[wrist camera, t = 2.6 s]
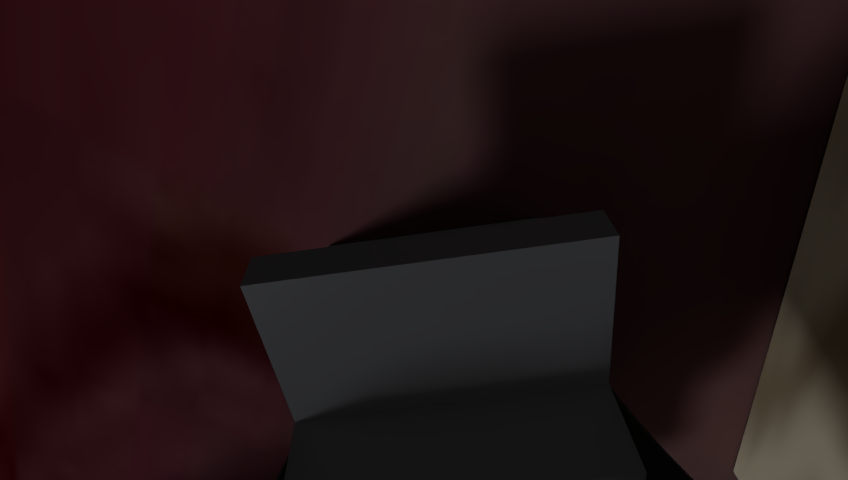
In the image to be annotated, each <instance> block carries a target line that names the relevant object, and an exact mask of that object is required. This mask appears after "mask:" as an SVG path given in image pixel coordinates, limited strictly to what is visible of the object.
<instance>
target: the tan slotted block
mask: <svg viewBox="0 0 848 480" xmlns="http://www.w3.org/2000/svg"><path fill="white" fill-rule="evenodd" d="M734 473H735V475H736V477H737V478H738V480H848V75H847V79H846V82H845V85H844V89H843V92H842V96H841V99H840V103H839V106H838V110H837V113H836V117H835V120H834V124H833V127H832V131H831V134H830V138H829V141H828V144H827V148H826V151H825V155H824V158H823V162H822V165H821V169H820V172H819V176H818V179H817V183H816V186H815V190H814V193H813V197H812V200H811V203H810V207H809V210H808V214H807V217H806V221H805V224H804V228H803V231H802V235H801V238H800V242H799V245H798V249H797V252H796V256H795V259H794V262H793V266H792V269H791V273H790V276H789V280H788V283H787V287H786V290H785V294H784V297H783V301H782V304H781V308H780V311H779V315H778V318H777V321H776V325H775V328H774V332H773V335H772V339H771V342H770V346H769V349H768V353H767V356H766V360H765V363H764V367H763V370H762V374H761V377H760V380H759V384H758V387H757V391H756V394H755V398H754V401H753V405H752V408H751V412H750V415H749V419H748V422H747V426H746V429H745V433H744V436H743V439H742V443H741V446H740V450H739V453H738V457H737V460H736V464H735V467H734Z"/></svg>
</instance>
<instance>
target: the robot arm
mask: <svg viewBox="0 0 848 480" xmlns="http://www.w3.org/2000/svg"><path fill="white" fill-rule="evenodd" d="M611 390H612V388H611ZM612 392H613V394H614V397H615V399H616V402H617V404H618V406H619V409H620V411H621V413H622V416H623V418H624V420H625V423H626V425H627V427H628V430H629V432H630V435H631V437H632V439H633V442H634V444H635V446H636V449H637V451H638V453H639V456H640V458H641V461H642V463H643V465H644V468H645V470H646V472H647V476H646V480H693V479H692V478H691V477H690V476H689V475H688V474H687V473H686V472H685V471H684V470H683V469H682V468H681V467H680V466H679V465H678V464H677V463H676V461H675V460H674V459H673V458H672V457H671V456H670V455H669V454H668V453H667V452H666V451H665V450H664V449H663V448H662V447H661V446H660V445H659V444H658V442H657V441H656V440H655V439H654V438H653V437H652V436H651V435H650V434H649V432H648V431H647V430H646V429H645V428H644V427H643V426H642V424H641V423H640V422H639V421H638V420H637V419H636V418H635V417H634V415H633V414H632V413H631V412H630V411H629V409H628V408H627V407H626V406H625V405H624V403H623V402H622V401H621V400H620V398H619V397H618V396H617V395H616V393H615V392H614V391H613V390H612ZM288 457H289V455H288ZM288 457H287V459H286V461H285V463H284V464H283V466H282V468H281V470H280V472H279V474H278V476H277V478H276V480H284V478H285V473H286V467H287V462H288Z"/></svg>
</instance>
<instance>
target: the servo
mask: <svg viewBox="0 0 848 480" xmlns="http://www.w3.org/2000/svg"><path fill="white" fill-rule="evenodd" d="M619 237H620V235H619V234H618V232H617V231H616V229H615V227H614V226H613V224H612V223H611V221H610V220H609V218H608V216H607V215H606V213H605V212H604V210H598V211H591V212H583V213H576V214H569V215H561V216H554V217H547V218H539V217H538V218H530V219H523V220H516V221H508V222H501V223H493V224H486V225H479V226H471V227H464V228H457V229H449V230H442V231H435V232H427V233H420V234H412V235H405V236H398V237H390V238H383V239H376V240H368V241H361V242H353V243H346V244H339V245H331V246H329V247H325V248H318V249H311V250H303V251H296V252H289V253H281V254H274V255H267V256H259V257H252V258H251V260H250V263H249V265H248V268H247V270H246V273H245V275H244V278H243V281H242V283H241V286H240V287H241V289H242V292H243V294H244V297H245V299H246V302H247V304H248V307H249V309H250V312H251V314H252V317H253V319H254V322H255V324H256V326H257V329H258V331H259V334H260V336H261V339H262V341H263V344H264V346H265V349H266V351H267V354H268V356H269V359H270V361H271V364H272V366H273V369H274V371H275V374H276V376H277V379H278V381H279V384H280V386H281V389H282V391H283V393H284V396H285V398H286V401H287V403H288V406H289V408H290V411H291V413H292V416H293V418H294V421H295V426H294V431H293V436H292V441H291V446H290V452H289V457H288V462H287V467H286V473H285V478H284V480H646V476H647V472H646V470H645V468H644V465H643V463H642V461H641V458H640V456H639V453H638V451H637V449H636V446H635V444H634V442H633V439H632V437H631V435H630V432H629V430H628V427H627V425H626V423H625V420H624V418H623V416H622V413H621V411H620V409H619V406H618V404H617V402H616V399H615V397H614V394H613V392H612V390H611V387H610V385H609V376H610V362H611V348H612V334H613V320H614V306H615V292H616V279H617V265H618V251H619Z"/></svg>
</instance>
